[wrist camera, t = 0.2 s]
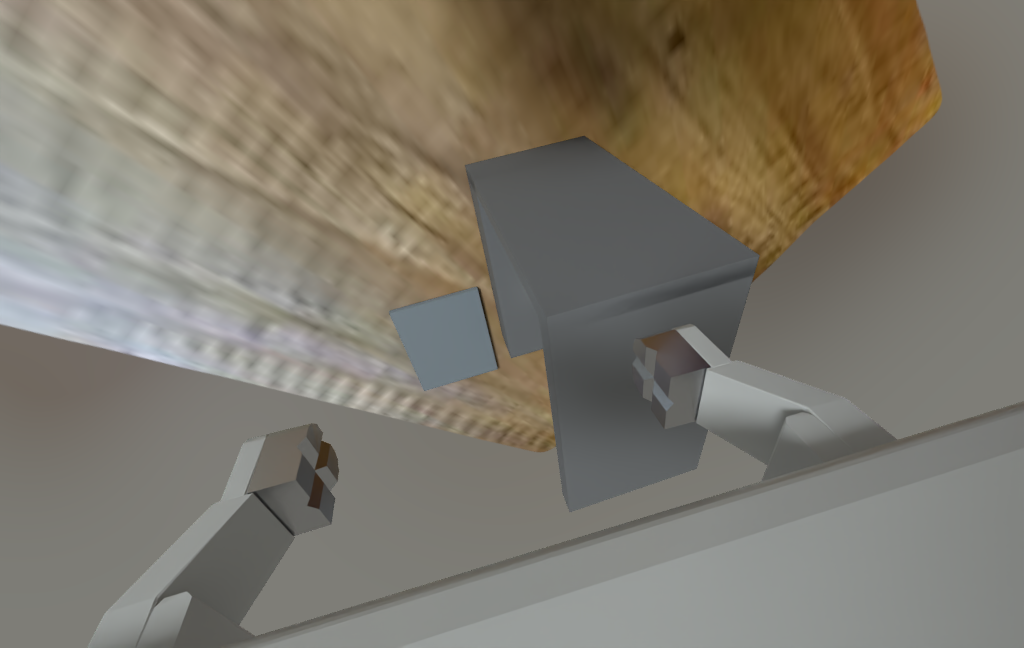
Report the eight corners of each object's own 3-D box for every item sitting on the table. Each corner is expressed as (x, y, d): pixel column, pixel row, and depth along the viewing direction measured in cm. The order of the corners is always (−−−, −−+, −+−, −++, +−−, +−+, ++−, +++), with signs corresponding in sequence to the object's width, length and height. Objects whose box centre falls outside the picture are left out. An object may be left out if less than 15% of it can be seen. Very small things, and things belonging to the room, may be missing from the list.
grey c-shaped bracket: (465, 165, 45) (546, 317, 24) (584, 135, 46) (759, 255, 25) (502, 336, 62) (569, 512, 41) (589, 310, 63) (696, 468, 42)
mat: (389, 310, 54) (389, 313, 54) (476, 286, 55) (477, 289, 55) (423, 388, 65) (424, 391, 64) (496, 366, 66) (497, 369, 65)
